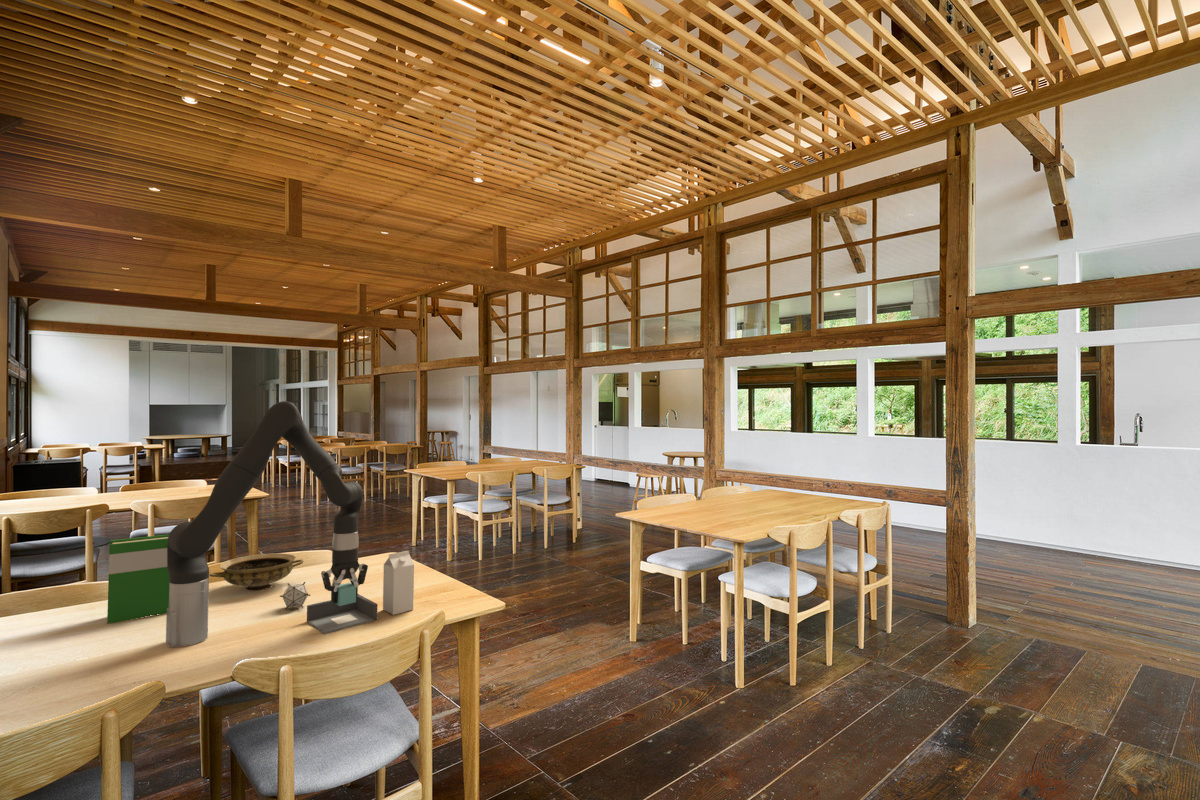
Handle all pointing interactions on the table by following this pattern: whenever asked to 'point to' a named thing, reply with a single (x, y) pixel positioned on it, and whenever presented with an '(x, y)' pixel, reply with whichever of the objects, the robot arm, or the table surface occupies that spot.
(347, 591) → the cube
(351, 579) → the robot arm
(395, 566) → the milk carton
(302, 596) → the game die
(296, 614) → the table surface
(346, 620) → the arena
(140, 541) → the hardback book
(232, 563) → the ceramic bowl
